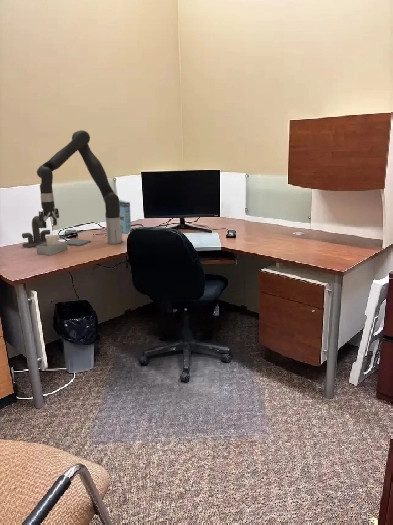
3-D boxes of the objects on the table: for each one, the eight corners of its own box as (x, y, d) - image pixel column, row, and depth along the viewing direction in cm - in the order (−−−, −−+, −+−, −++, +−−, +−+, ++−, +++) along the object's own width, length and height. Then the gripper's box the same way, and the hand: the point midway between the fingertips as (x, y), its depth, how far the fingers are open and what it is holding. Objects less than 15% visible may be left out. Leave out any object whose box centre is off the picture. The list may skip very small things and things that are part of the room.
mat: (91, 242, 283) (90, 240, 282) (79, 246, 272) (79, 244, 272) (75, 240, 289) (74, 238, 288) (62, 244, 278) (62, 242, 278)
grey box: (67, 249, 265) (66, 241, 264) (49, 255, 252) (48, 247, 251) (55, 247, 270) (54, 240, 268) (37, 253, 257) (36, 245, 255)
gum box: (113, 229, 319) (110, 199, 312) (118, 228, 322) (116, 199, 316) (125, 233, 305) (123, 202, 298) (131, 232, 308) (130, 202, 301)
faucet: (33, 250, 264) (28, 219, 258) (21, 246, 274) (17, 216, 268) (59, 244, 276) (55, 215, 270) (47, 241, 287) (43, 212, 281)
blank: (58, 250, 262) (56, 235, 259) (53, 252, 259) (52, 236, 256) (52, 250, 264) (50, 234, 261) (47, 251, 261) (46, 236, 258)
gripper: (43, 202, 244) (46, 229, 249) (60, 199, 257) (63, 225, 262) (33, 201, 248) (36, 228, 252) (51, 198, 260) (54, 223, 265)
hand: (50, 226), depth 257 cm, fingers open, 8 cm apart
